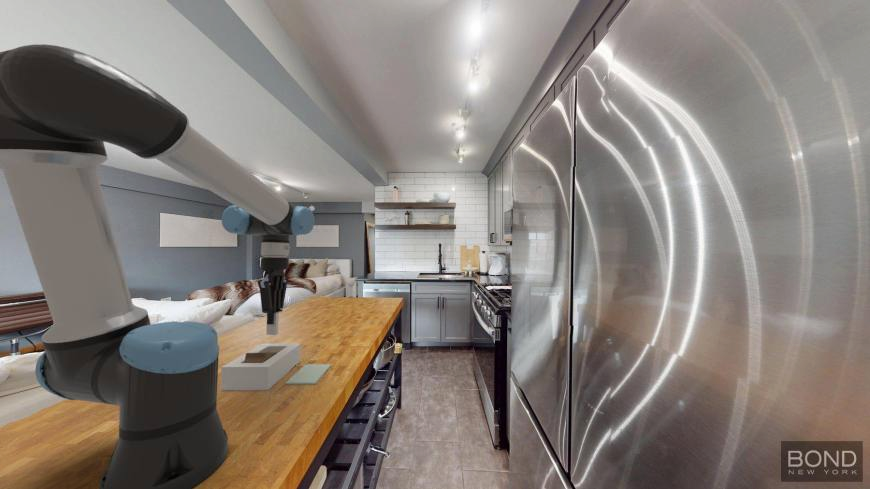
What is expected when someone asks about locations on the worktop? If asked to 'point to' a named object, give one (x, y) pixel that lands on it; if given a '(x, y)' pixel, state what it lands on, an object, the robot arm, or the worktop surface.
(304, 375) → the sage mat
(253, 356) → the walnut bar
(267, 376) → the pocket block
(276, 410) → the worktop surface
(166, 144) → the robot arm
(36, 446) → the worktop surface
